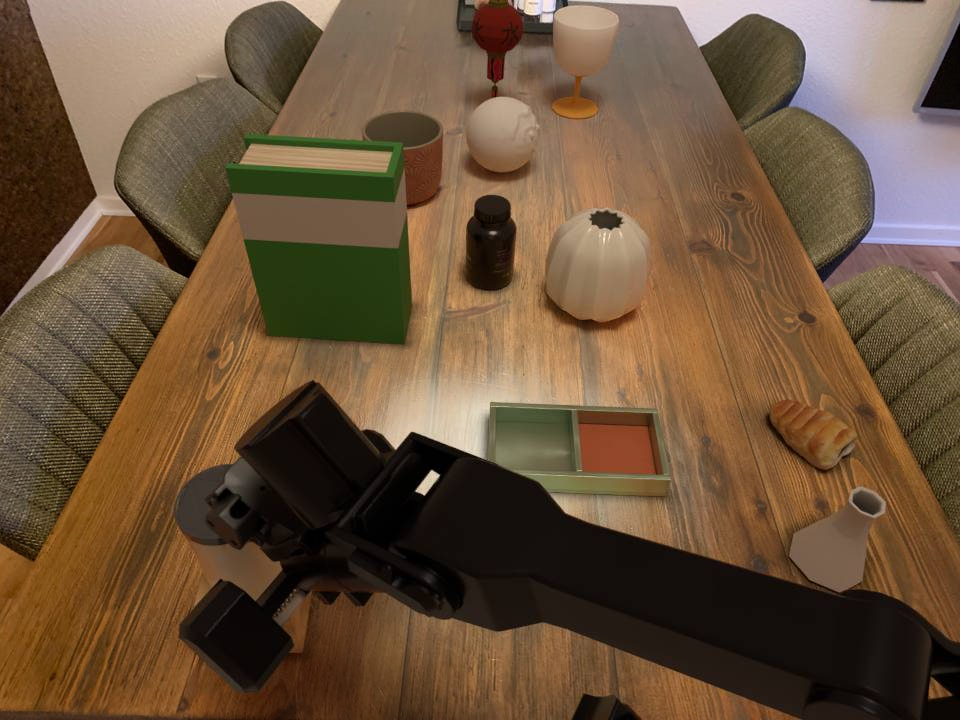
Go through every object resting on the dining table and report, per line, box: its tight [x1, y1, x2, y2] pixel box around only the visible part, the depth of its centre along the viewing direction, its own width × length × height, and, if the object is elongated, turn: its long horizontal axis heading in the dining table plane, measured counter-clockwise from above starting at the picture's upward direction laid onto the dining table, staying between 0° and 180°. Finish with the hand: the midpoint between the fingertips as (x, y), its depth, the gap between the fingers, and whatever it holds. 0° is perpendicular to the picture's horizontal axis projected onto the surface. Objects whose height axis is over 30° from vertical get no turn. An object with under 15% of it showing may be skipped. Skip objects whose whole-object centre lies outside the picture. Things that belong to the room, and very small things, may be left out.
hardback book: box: [225, 133, 413, 345], centre depth 85 cm, size 18×7×24 cm, turn 86°
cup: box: [551, 4, 620, 120], centre depth 132 cm, size 12×12×17 cm
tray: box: [487, 401, 672, 498], centre depth 78 cm, size 10×19×3 cm, turn 88°
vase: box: [544, 206, 652, 323], centre depth 93 cm, size 14×14×13 cm
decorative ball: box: [465, 96, 541, 173], centre depth 118 cm, size 12×12×12 cm
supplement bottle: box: [464, 194, 518, 291], centre depth 97 cm, size 7×7×12 cm
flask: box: [788, 485, 887, 593], centre depth 67 cm, size 7×7×10 cm
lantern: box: [470, 0, 524, 99], centre depth 127 cm, size 10×10×30 cm
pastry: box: [769, 399, 858, 471], centre depth 80 cm, size 9×7×4 cm
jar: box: [173, 463, 282, 601], centre depth 57 cm, size 7×7×11 cm
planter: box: [361, 109, 444, 205], centre depth 112 cm, size 12×12×11 cm
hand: (263, 552), depth 55 cm, fingers open, 9 cm apart
